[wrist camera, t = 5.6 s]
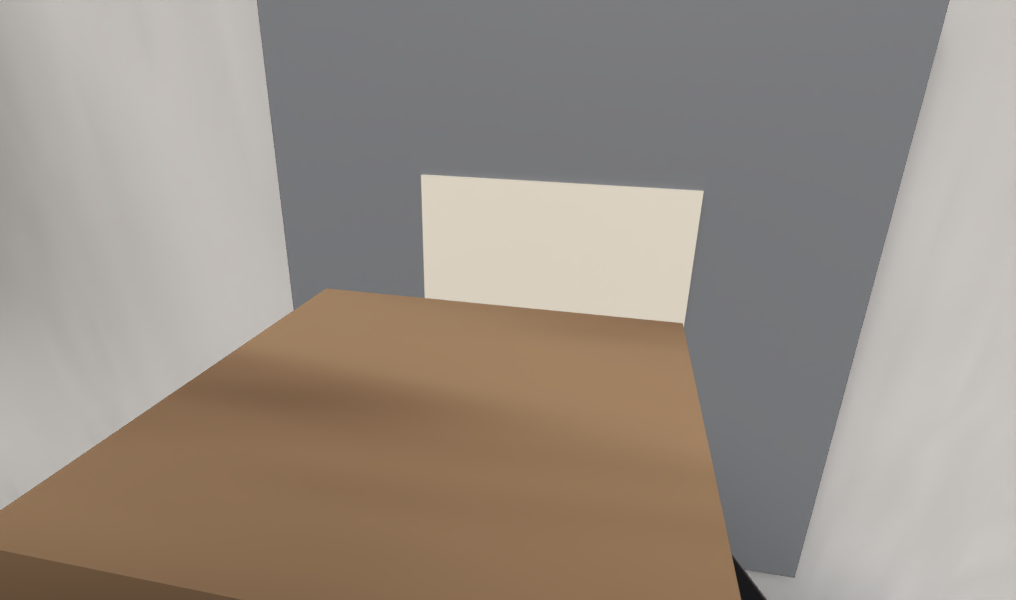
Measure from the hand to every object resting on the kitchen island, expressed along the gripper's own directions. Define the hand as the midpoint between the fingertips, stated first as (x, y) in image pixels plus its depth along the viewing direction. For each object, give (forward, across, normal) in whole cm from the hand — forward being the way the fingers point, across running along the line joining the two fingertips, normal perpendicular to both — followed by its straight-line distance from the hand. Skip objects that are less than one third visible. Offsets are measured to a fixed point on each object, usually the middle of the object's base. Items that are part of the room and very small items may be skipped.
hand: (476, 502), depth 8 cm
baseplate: (+8, 0, 0) cm, 8 cm away
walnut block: (+1, 0, 0) cm, 1 cm away
